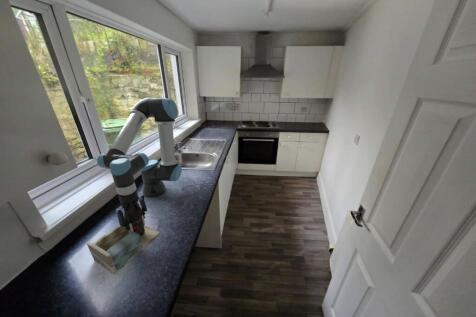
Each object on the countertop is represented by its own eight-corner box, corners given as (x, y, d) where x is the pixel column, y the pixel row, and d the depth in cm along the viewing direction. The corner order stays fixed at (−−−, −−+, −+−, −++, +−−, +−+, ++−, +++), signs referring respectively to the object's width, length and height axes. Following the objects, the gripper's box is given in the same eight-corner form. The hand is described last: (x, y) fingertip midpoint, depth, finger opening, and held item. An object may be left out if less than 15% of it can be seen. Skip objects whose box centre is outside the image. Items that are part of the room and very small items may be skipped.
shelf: (141, 224, 99) (137, 209, 95) (159, 233, 94) (156, 217, 89) (94, 260, 79) (86, 243, 75) (114, 274, 74) (107, 256, 69)
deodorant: (147, 229, 94) (142, 207, 88) (139, 238, 89) (132, 215, 83) (138, 227, 95) (132, 205, 89) (129, 235, 90) (122, 212, 84)
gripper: (139, 179, 91) (147, 215, 100) (100, 200, 75) (114, 239, 84) (150, 183, 88) (157, 219, 97) (111, 205, 72) (124, 245, 82)
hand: (137, 228), depth 91 cm, fingers closed on deodorant, 6 cm apart
